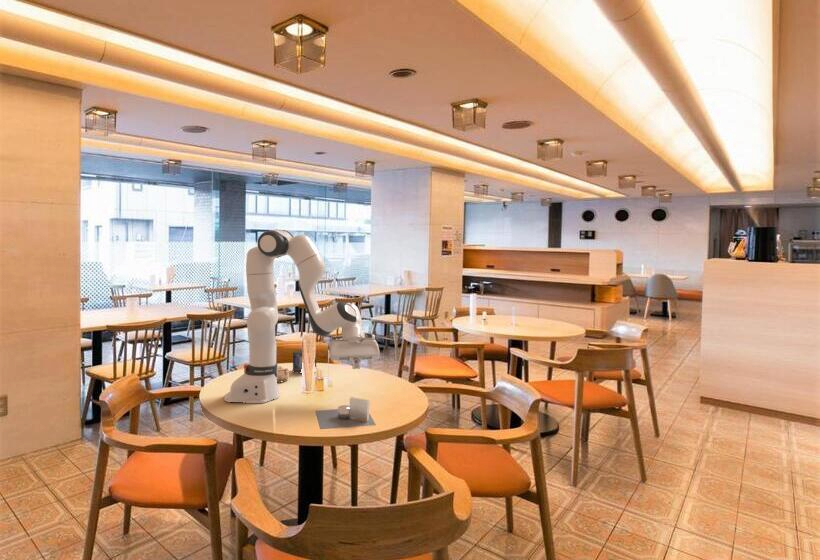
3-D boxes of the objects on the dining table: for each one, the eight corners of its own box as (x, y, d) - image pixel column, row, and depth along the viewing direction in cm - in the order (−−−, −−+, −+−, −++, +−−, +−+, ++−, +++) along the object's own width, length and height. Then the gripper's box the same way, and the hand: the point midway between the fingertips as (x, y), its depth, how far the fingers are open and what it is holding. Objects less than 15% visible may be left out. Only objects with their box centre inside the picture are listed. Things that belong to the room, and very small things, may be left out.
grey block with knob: (335, 417, 188) (335, 397, 187) (342, 413, 193) (342, 394, 192) (364, 423, 183) (365, 402, 182) (371, 419, 187) (371, 398, 187)
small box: (291, 372, 255) (292, 352, 255) (299, 369, 262) (299, 349, 261) (310, 375, 252) (310, 354, 251) (316, 372, 258) (317, 351, 257)
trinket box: (291, 382, 238) (292, 366, 238) (260, 386, 230) (260, 369, 230) (282, 375, 250) (283, 360, 249) (252, 379, 242) (252, 363, 241)
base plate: (320, 431, 177) (320, 428, 177) (315, 413, 196) (315, 409, 196) (376, 427, 182) (376, 424, 182) (365, 409, 202) (365, 406, 202)
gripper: (329, 335, 205) (331, 364, 196) (378, 334, 211) (382, 363, 202) (327, 343, 210) (329, 372, 201) (375, 343, 215) (379, 371, 206)
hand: (356, 368), depth 201 cm, fingers closed
